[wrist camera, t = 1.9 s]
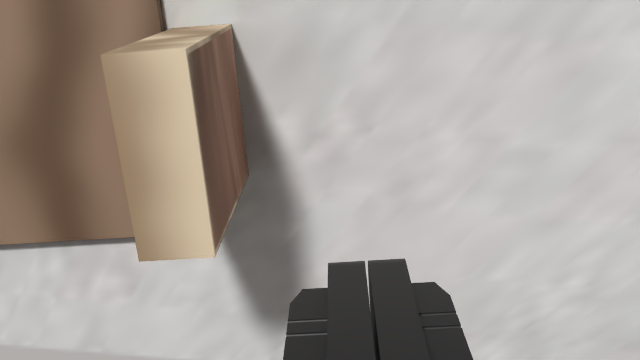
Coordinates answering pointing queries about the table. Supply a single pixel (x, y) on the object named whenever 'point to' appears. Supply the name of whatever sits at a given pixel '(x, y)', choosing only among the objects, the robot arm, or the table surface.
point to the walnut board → (63, 117)
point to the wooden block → (178, 138)
